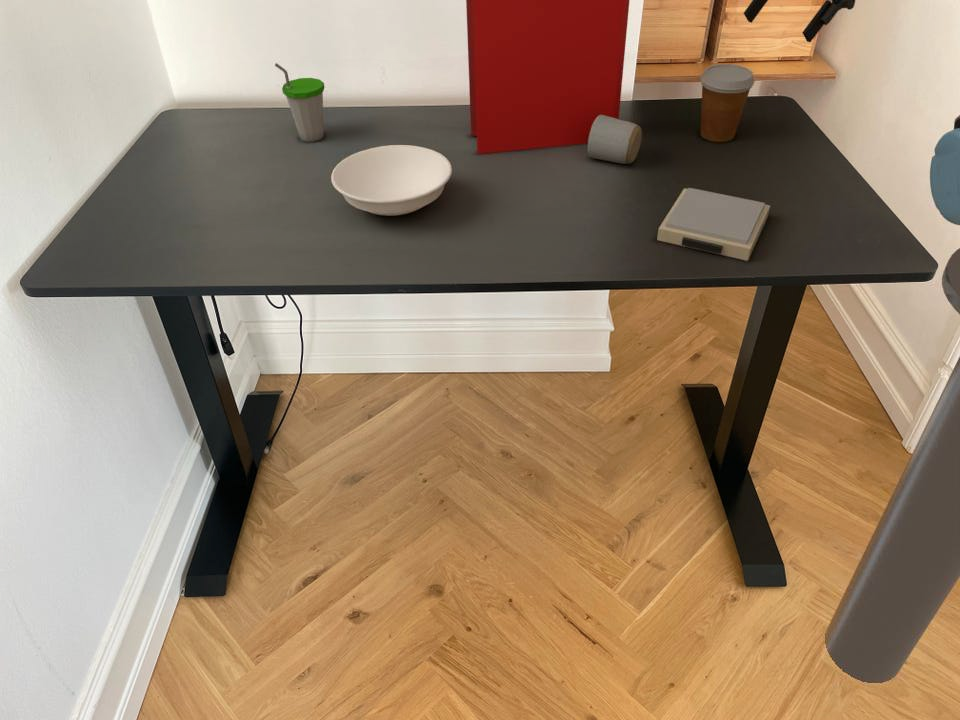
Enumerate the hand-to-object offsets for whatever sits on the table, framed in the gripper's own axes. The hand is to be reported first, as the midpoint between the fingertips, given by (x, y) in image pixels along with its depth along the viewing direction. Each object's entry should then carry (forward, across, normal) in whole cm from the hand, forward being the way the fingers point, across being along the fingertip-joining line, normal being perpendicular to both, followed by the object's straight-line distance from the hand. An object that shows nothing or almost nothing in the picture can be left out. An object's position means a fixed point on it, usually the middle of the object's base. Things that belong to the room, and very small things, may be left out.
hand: (775, 27), depth 142 cm
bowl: (+65, +12, +40) cm, 77 cm away
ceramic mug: (+36, +4, +10) cm, 37 cm away
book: (+40, +18, +14) cm, 46 cm away
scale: (+38, -24, +13) cm, 47 cm away
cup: (+66, +46, +40) cm, 89 cm away
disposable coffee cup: (+20, 0, -5) cm, 21 cm away
